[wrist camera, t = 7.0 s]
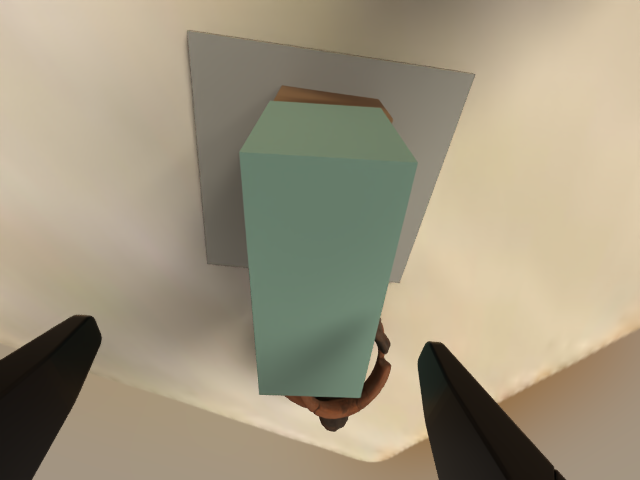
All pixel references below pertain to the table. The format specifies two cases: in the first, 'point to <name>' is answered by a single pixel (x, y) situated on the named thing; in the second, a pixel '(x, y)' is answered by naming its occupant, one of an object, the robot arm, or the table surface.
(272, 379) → the lintel
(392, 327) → the table surface
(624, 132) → the table surface
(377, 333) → the brown curved piece
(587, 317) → the table surface
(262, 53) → the build mat
